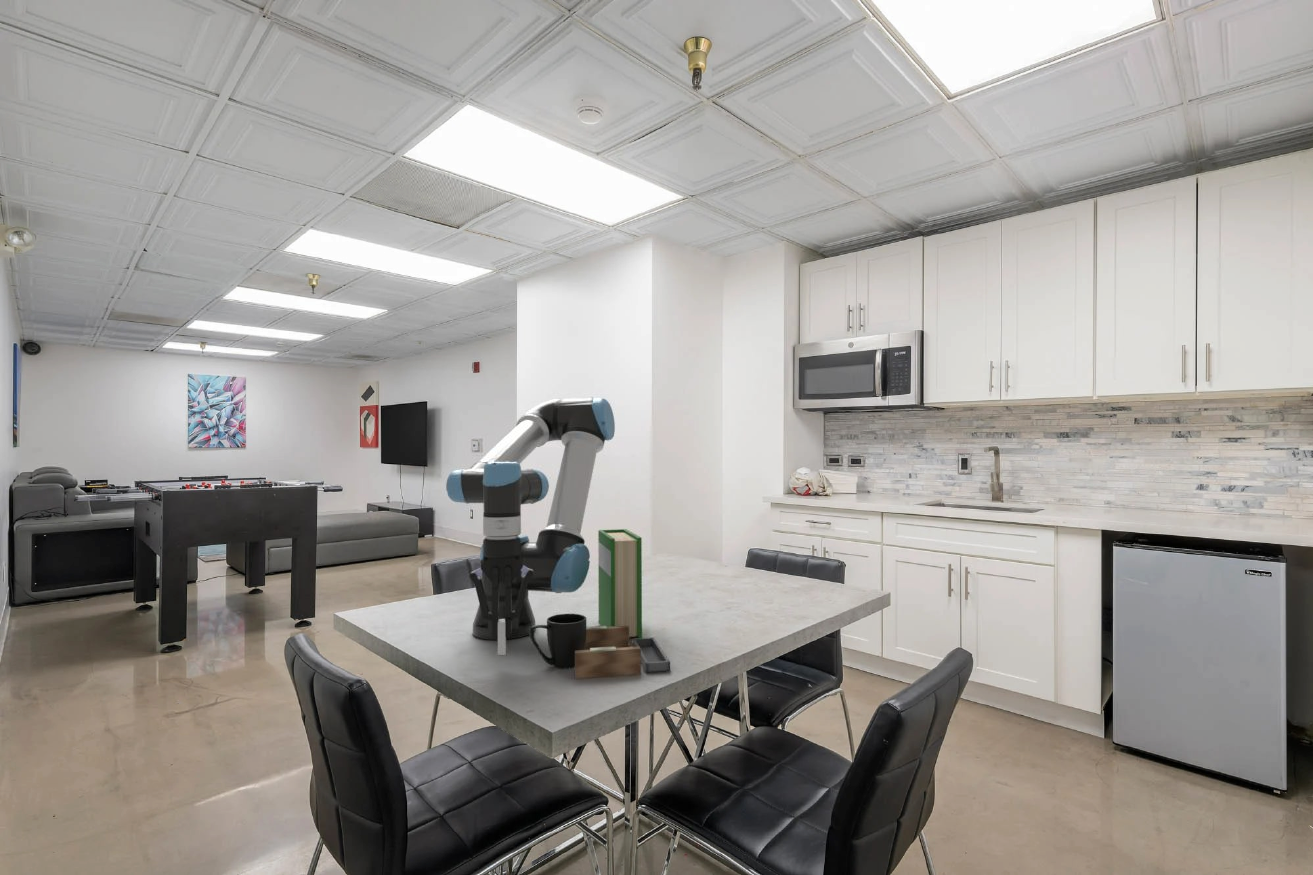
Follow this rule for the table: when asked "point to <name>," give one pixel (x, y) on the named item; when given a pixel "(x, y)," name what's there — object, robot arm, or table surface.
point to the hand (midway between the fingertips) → (501, 652)
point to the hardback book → (620, 580)
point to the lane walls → (607, 653)
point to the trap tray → (652, 655)
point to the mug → (563, 639)
